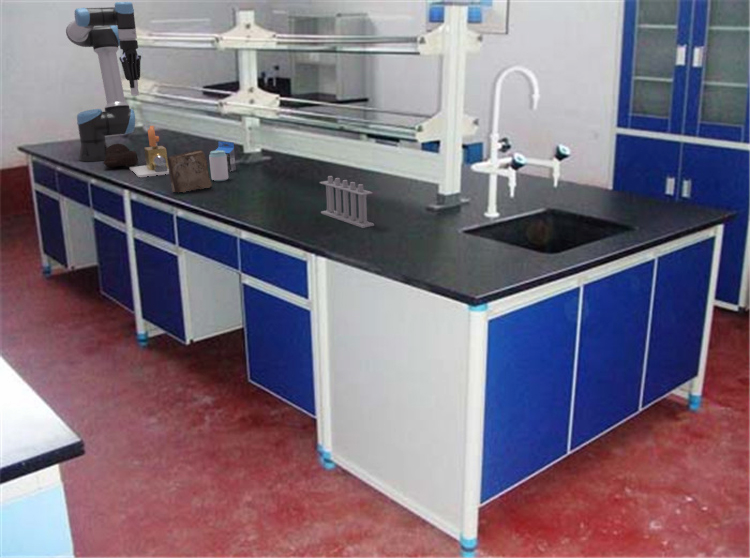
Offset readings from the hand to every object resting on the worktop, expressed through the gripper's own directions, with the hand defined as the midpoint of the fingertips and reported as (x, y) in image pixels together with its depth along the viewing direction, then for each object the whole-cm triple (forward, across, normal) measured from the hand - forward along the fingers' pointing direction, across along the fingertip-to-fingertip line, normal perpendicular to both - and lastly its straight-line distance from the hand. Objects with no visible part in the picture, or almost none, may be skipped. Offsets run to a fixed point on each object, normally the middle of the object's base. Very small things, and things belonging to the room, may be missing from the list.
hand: (135, 95), depth 344 cm
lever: (+19, -10, -13) cm, 25 cm away
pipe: (+32, -1, +11) cm, 34 cm away
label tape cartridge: (+33, +1, -41) cm, 52 cm away
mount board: (+32, -4, -10) cm, 34 cm away
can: (+33, -18, -49) cm, 61 cm away
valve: (+32, -4, -10) cm, 34 cm away
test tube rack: (+33, -67, -123) cm, 144 cm away
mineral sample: (+33, -38, -47) cm, 69 cm away
